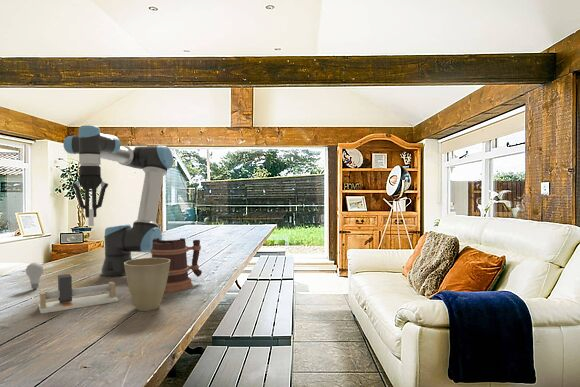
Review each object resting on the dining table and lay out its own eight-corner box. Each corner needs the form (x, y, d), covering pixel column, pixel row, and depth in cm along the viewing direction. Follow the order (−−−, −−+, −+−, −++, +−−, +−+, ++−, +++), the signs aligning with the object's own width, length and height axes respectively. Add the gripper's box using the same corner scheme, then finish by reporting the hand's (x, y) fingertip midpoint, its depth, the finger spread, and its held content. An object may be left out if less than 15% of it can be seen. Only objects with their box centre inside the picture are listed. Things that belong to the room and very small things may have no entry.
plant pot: (127, 317, 129) (126, 267, 129) (122, 305, 142) (121, 260, 142) (175, 310, 136) (174, 262, 135) (166, 299, 149) (165, 256, 149)
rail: (112, 295, 156) (111, 280, 155) (118, 301, 147) (117, 285, 147) (38, 306, 142) (38, 289, 142) (40, 313, 134) (40, 295, 134)
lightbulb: (35, 291, 163) (34, 264, 163) (22, 290, 164) (21, 263, 164) (47, 287, 169) (46, 261, 169) (34, 287, 170) (34, 261, 170)
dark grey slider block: (70, 297, 145) (69, 273, 145) (72, 301, 141) (71, 276, 141) (58, 299, 143) (58, 275, 143) (60, 302, 139) (59, 277, 139)
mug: (208, 287, 167) (207, 238, 167) (150, 294, 156) (149, 242, 156) (195, 278, 183) (195, 234, 183) (142, 285, 172) (141, 237, 172)
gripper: (106, 166, 166) (107, 224, 166) (69, 165, 158) (71, 226, 159) (109, 165, 160) (110, 225, 160) (72, 164, 152) (73, 227, 153)
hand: (91, 225), depth 159 cm, fingers closed
